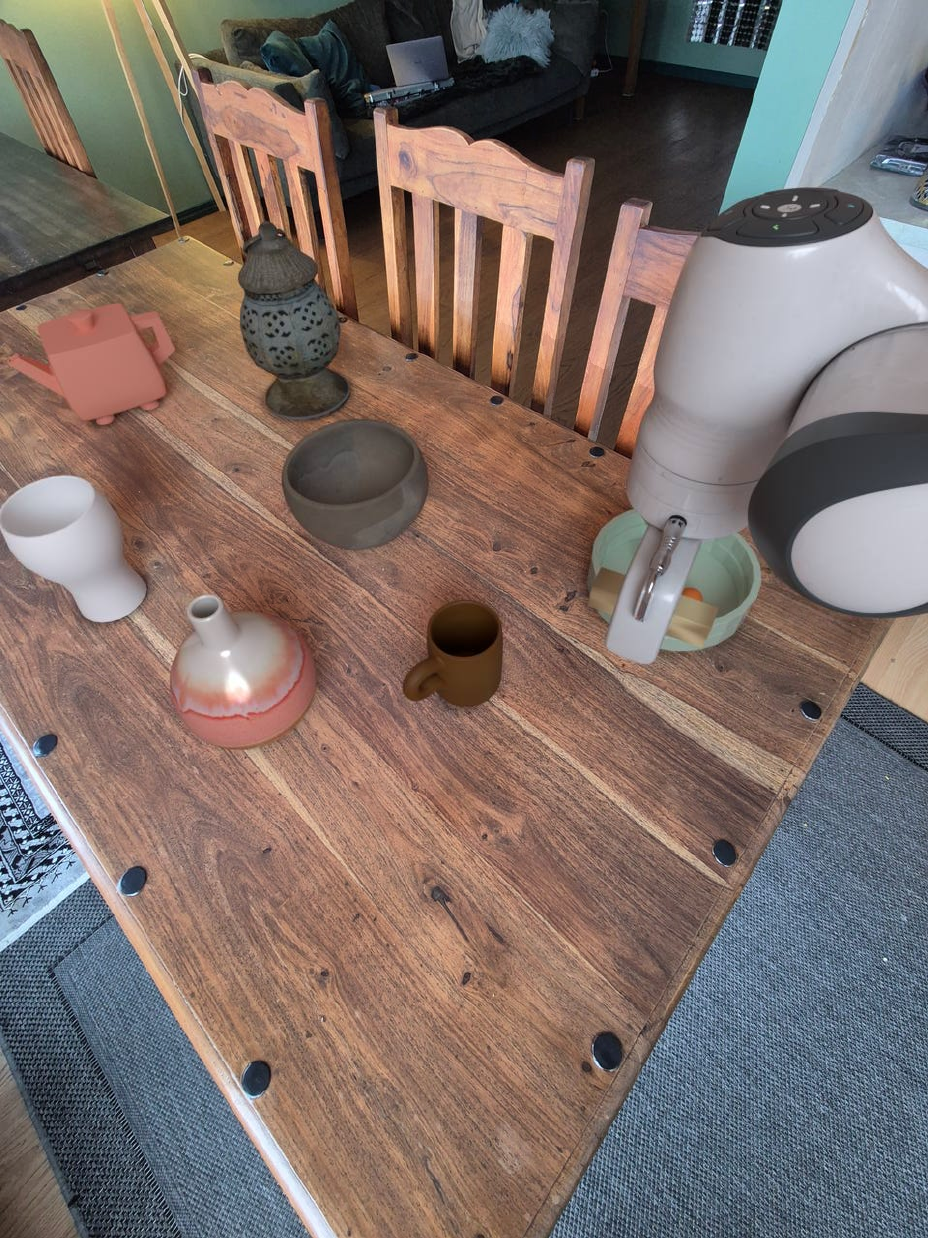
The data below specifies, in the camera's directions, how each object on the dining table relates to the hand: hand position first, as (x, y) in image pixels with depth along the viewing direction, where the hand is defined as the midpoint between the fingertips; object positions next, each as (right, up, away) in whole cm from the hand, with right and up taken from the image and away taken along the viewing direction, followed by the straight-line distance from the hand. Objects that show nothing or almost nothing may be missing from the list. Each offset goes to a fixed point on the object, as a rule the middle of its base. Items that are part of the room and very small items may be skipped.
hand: (652, 604), depth 53 cm
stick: (0, -1, +1) cm, 2 cm away
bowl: (-29, +12, +32) cm, 45 cm away
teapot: (-71, +33, +49) cm, 92 cm away
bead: (+10, 0, +21) cm, 23 cm away
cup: (-58, +1, +24) cm, 63 cm away
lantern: (-41, +35, +49) cm, 73 cm away
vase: (-37, -11, +15) cm, 41 cm away
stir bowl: (+8, +2, +23) cm, 25 cm away
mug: (-17, -9, +15) cm, 25 cm away
